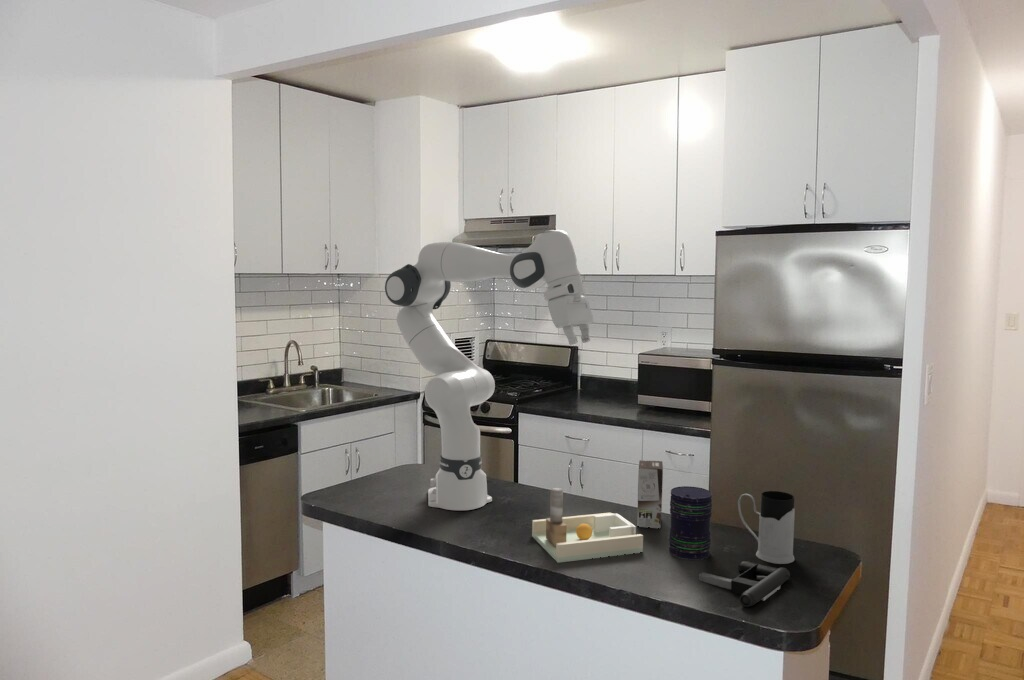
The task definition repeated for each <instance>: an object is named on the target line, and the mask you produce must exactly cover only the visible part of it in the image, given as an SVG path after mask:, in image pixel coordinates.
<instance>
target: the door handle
mask: <svg viewBox="0 0 1024 680" xmlns="http://www.w3.org/2000/svg"><path fill="white" fill-rule="evenodd" d="M737 568H738V571H739V572H741V574H738V575H737V576H735V577H734V578H728V577H724V576H720V575H717V574H716V575H715V574H712V573H708V572H703V571H702V572H701V573H699V574H698V577H699V578H698V581H701V582H704V583H706V584H710V585H713V586H716V587H720V588H722V589H727V590H730V591H731V593H735V594H737V595H740V596H739V602H740V604H741V606H743V607H745V608H749V607H753V606H754V605H755V604H757V603H760V601H763V602H764V601H766V600H767V599H768V598H770V597H771V596H772V595H773V594H775V593H776V592H778V591H779V590H781V586H782V585H783V584H784V583H786V582H791V580H790V578H791V574H790V571H789V570H788V569H787V568H786V567H783V566H782V567H779V568H778V567H773V566H769V565H764V564H760V563H756V562H750V561H747V560H743V561H740V562H739V564H738V566H737ZM753 578H755V579H757V580H758V581H757V580H753ZM759 580H760V581H759ZM777 590H778V591H777Z"/></svg>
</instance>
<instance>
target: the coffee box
mask: <svg viewBox="0 0 1024 680" xmlns="http://www.w3.org/2000/svg"><path fill="white" fill-rule="evenodd" d="M638 462H639V463H638V477H637V478H638V479H637V480H638V481H637V513H636V514H637V518H636V520H637V522H636V527H637V526H639V528H648V527H650V528H649V529H658V528H659V529H661V523H662V511H663V510H662V509H663V485H664V484H663V483H664V482H663V481H664V480H663V479H664V476H663V475H664V473H663V472H664V466H663V465H664V464H663V461H662V460H641V459H640V460H639V461H638Z"/></svg>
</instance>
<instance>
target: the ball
mask: <svg viewBox="0 0 1024 680" xmlns="http://www.w3.org/2000/svg"><path fill="white" fill-rule="evenodd" d="M576 534H577V536H578V538H579V539H581V540H588V539H589V538H590V537H591V536H592V528H591V527H590V526H589V525H588V524H580V525H579V526H578V527H577V529H576Z"/></svg>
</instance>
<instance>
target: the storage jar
mask: <svg viewBox="0 0 1024 680" xmlns="http://www.w3.org/2000/svg"><path fill="white" fill-rule="evenodd" d="M712 497H713V493H712V491H711V490H708V489H707V488H706V489H705V488H702V487H698V486H691V485H690V486H688V485H687V486H686V485H684V486H683V485H682V486H676V487H673V488H672V489H671V490H670V500H669V507H670V508H669V513H670V528H669V535H668V541H669V547H668V552H669V554H671V555H672V554H673V555H672V556H674V557H676V558H678V557H679V558H678V559H682V558H683V559H682V560H688V559H689V561H700V560H699V559H701V560H705V559H708V558H709V557H710V556H711V555H710V552H711V551H710V549H711V540H712V539H711V531H710V529H711V528H710V527H711V526H710V525H711V517H712V509H713V503H712V499H713V498H712ZM708 556H709V557H708ZM704 558H705V559H704Z"/></svg>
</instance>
